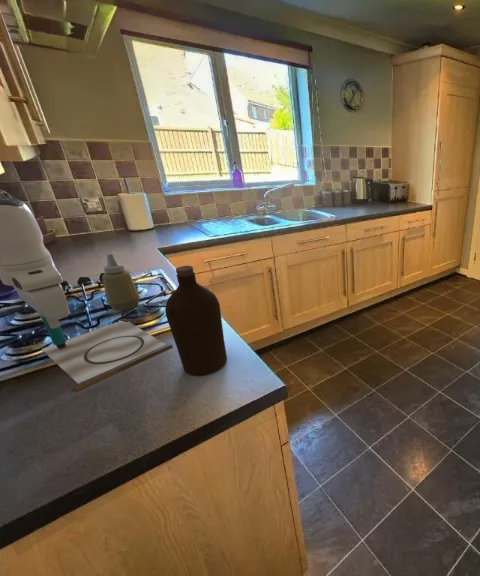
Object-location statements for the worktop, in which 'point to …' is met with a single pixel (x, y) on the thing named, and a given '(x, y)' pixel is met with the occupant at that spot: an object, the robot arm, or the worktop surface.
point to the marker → (56, 335)
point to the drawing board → (104, 352)
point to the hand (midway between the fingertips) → (52, 324)
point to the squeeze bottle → (119, 286)
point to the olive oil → (196, 325)
